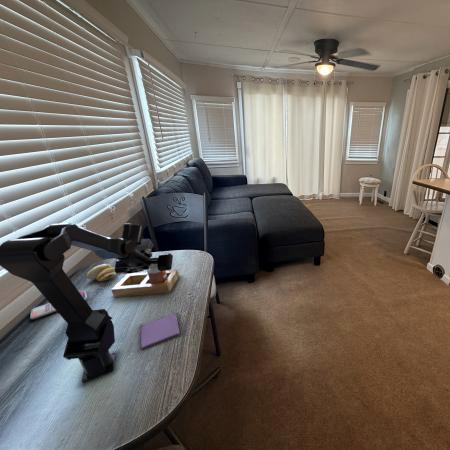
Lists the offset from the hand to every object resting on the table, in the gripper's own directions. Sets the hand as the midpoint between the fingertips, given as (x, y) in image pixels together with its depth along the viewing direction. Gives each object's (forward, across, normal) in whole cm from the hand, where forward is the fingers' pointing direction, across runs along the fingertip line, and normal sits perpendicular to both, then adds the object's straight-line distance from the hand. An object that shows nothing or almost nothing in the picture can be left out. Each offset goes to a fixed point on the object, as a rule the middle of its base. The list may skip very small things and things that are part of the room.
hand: (155, 268), depth 95 cm
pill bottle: (+6, 0, +6) cm, 8 cm away
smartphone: (0, +32, +11) cm, 33 cm away
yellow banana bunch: (+13, +28, -2) cm, 31 cm away
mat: (-13, -10, +24) cm, 29 cm away
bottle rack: (+6, +5, +6) cm, 9 cm away
